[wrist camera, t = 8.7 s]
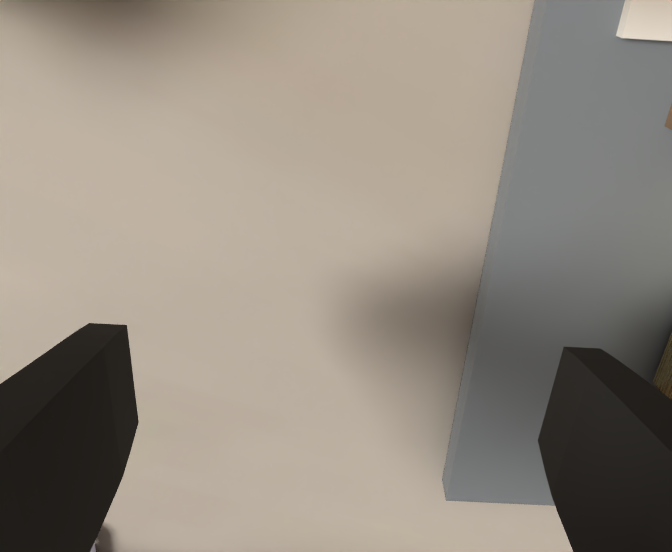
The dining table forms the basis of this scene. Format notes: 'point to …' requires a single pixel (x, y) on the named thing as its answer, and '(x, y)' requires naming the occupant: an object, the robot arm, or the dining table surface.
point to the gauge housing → (647, 27)
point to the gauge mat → (567, 241)
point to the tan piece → (665, 371)
